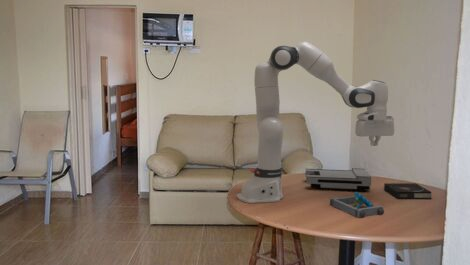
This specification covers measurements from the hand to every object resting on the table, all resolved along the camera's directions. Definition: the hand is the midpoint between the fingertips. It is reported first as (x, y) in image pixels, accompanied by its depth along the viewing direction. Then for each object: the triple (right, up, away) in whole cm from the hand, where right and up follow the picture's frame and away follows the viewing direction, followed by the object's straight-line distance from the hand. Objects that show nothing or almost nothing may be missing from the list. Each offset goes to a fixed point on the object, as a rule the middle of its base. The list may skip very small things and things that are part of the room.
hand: (374, 145), depth 198 cm
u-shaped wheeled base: (-11, -28, -11) cm, 32 cm away
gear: (-8, -28, -10) cm, 31 cm away
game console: (-11, -23, +29) cm, 39 cm away
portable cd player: (+21, -25, +14) cm, 36 cm away
